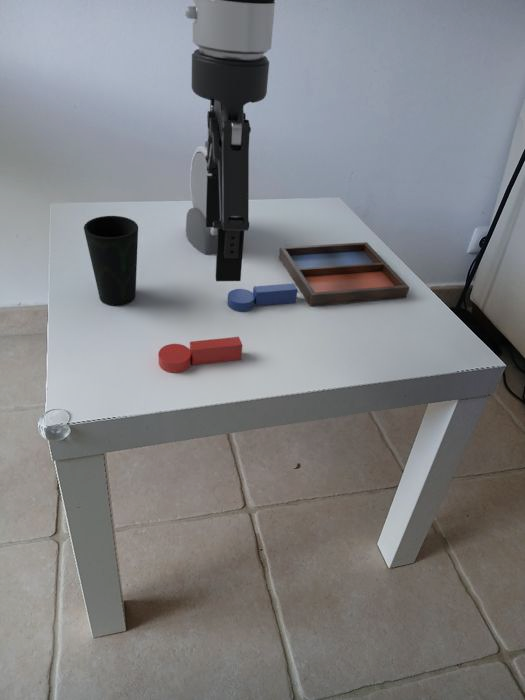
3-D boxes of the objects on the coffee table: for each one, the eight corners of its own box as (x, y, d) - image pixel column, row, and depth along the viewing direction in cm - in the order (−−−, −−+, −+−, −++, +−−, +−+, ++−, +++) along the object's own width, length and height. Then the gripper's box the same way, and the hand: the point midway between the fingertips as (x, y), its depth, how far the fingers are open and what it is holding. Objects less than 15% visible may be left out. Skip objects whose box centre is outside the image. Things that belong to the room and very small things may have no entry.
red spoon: (235, 345, 76) (236, 331, 75) (243, 364, 73) (244, 350, 72) (156, 354, 73) (156, 339, 72) (161, 374, 70) (160, 359, 68)
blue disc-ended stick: (289, 292, 90) (291, 279, 88) (298, 306, 86) (300, 293, 85) (224, 298, 86) (225, 284, 85) (230, 312, 83) (231, 298, 82)
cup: (103, 281, 87) (95, 212, 80) (148, 287, 87) (144, 219, 79) (84, 305, 81) (74, 233, 74) (132, 313, 81) (127, 241, 73)
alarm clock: (253, 254, 99) (261, 156, 88) (201, 260, 96) (203, 159, 84) (224, 219, 111) (228, 128, 100) (177, 223, 107) (176, 129, 96)
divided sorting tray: (364, 252, 104) (366, 242, 103) (406, 297, 92) (409, 287, 90) (278, 257, 99) (279, 247, 98) (310, 306, 87) (312, 295, 85)
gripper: (185, 29, 59) (185, 207, 72) (201, 76, 40) (197, 308, 53) (250, 34, 61) (239, 208, 74) (296, 83, 42) (270, 307, 55)
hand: (221, 251), depth 64 cm, fingers open, 13 cm apart
